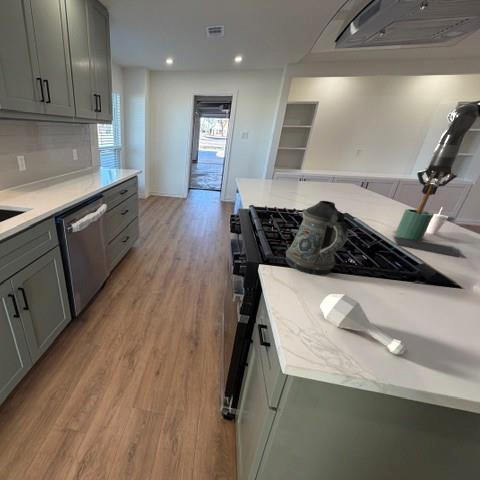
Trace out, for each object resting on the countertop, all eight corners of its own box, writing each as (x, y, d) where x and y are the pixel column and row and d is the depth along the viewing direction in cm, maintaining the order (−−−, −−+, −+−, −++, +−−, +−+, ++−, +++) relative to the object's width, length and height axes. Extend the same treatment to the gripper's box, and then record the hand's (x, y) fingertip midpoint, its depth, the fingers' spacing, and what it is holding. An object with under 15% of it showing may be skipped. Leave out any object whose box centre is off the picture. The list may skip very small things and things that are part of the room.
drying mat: (450, 247, 116) (451, 246, 116) (458, 257, 107) (459, 256, 107) (394, 237, 126) (394, 236, 126) (397, 245, 117) (397, 244, 117)
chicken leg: (390, 368, 56) (417, 340, 54) (312, 312, 67) (331, 287, 65) (391, 360, 62) (415, 334, 60) (319, 310, 73) (337, 287, 71)
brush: (421, 219, 125) (437, 183, 118) (423, 222, 121) (440, 184, 114) (408, 217, 127) (423, 182, 120) (409, 220, 124) (426, 183, 117)
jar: (419, 236, 129) (430, 211, 124) (423, 242, 121) (435, 216, 116) (394, 231, 134) (404, 207, 129) (396, 237, 127) (407, 212, 122)
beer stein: (298, 251, 109) (314, 194, 99) (349, 271, 94) (373, 206, 84) (275, 261, 100) (290, 199, 90) (327, 284, 85) (351, 213, 76)
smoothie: (419, 230, 137) (431, 205, 131) (433, 231, 136) (445, 206, 130) (428, 234, 131) (441, 208, 125) (443, 235, 130) (456, 209, 124)
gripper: (425, 155, 113) (409, 193, 120) (469, 157, 106) (450, 197, 113) (421, 154, 119) (406, 190, 126) (464, 156, 111) (445, 194, 118)
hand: (427, 194), depth 119 cm, fingers closed on brush
